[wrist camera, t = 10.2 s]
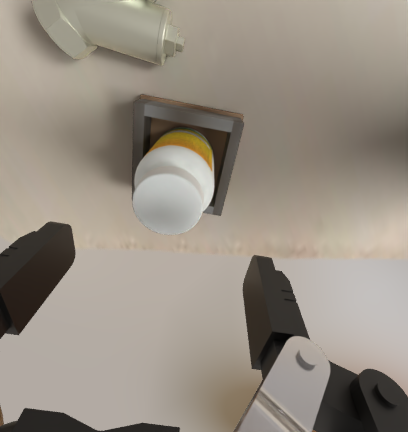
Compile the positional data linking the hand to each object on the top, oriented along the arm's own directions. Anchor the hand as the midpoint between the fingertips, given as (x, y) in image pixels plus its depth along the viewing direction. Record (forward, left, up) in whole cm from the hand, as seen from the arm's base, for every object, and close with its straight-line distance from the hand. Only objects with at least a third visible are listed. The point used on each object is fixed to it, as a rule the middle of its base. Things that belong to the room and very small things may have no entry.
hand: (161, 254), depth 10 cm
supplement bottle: (0, 0, -13) cm, 13 cm away
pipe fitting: (+6, -9, -14) cm, 18 cm away
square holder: (0, 0, -14) cm, 14 cm away
